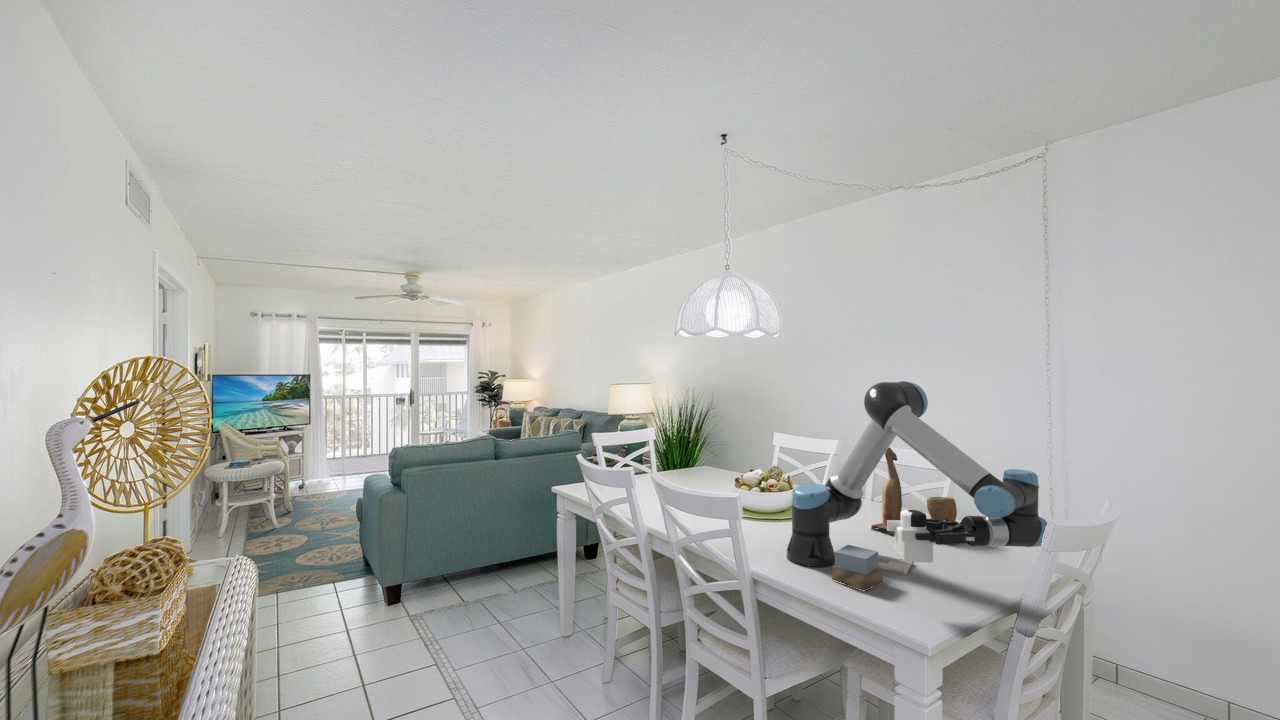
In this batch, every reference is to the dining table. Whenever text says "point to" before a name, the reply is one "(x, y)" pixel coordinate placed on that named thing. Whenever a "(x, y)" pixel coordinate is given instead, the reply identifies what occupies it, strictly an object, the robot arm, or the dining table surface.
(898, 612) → the dining table surface
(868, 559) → the tower top block
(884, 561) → the newspaper
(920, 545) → the medicine bottle
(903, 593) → the dining table surface
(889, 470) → the bird sculpture
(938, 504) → the brown chunky piece
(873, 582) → the tower base block
